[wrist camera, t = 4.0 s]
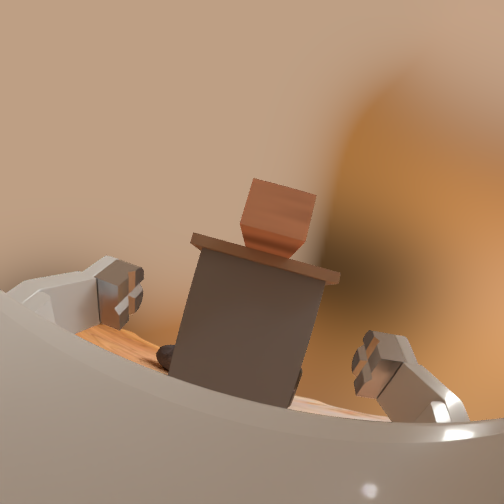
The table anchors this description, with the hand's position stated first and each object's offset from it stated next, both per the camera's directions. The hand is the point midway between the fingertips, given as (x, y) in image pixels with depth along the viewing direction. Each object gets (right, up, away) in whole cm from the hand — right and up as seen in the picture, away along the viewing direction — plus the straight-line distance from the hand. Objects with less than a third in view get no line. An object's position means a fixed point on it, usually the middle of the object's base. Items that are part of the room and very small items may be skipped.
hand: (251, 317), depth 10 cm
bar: (+1, +2, +18) cm, 18 cm away
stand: (-6, -24, +21) cm, 32 cm away
